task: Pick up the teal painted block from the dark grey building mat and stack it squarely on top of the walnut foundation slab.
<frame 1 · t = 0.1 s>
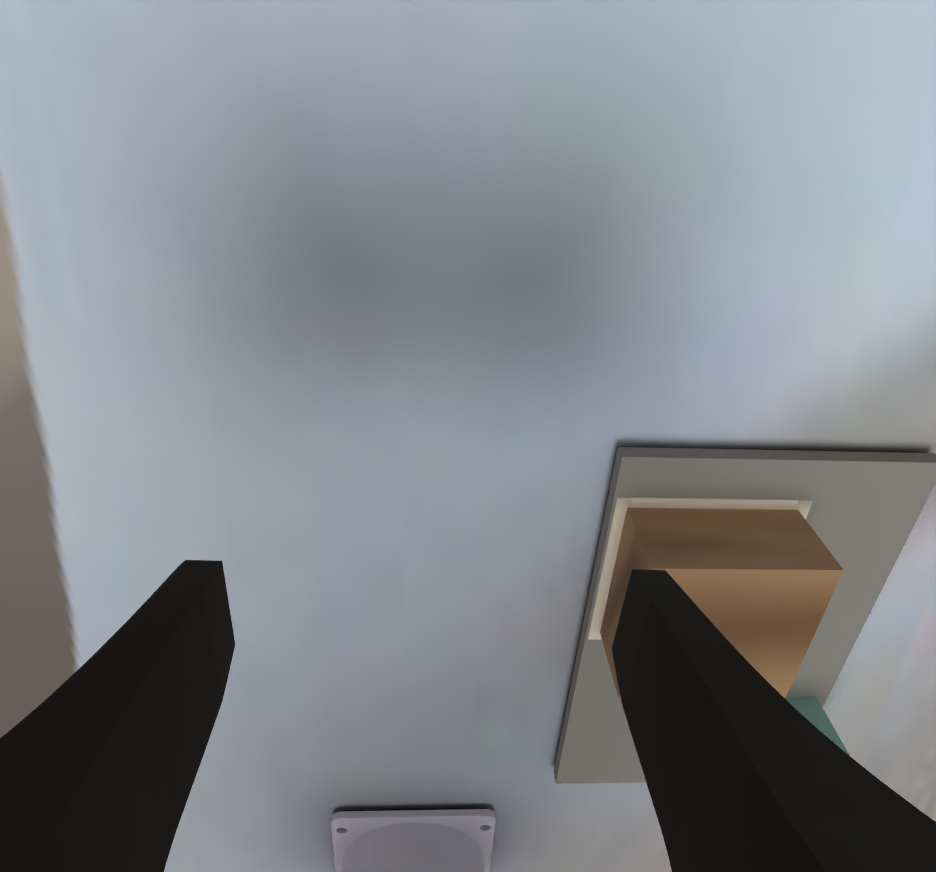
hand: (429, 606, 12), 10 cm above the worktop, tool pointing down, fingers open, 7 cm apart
build mat: (714, 637, 27), on the worktop
walnut slab: (693, 574, 24), point 1 cm above the worktop, touching build mat
teal block: (757, 727, 30), point 1 cm above the worktop, touching build mat
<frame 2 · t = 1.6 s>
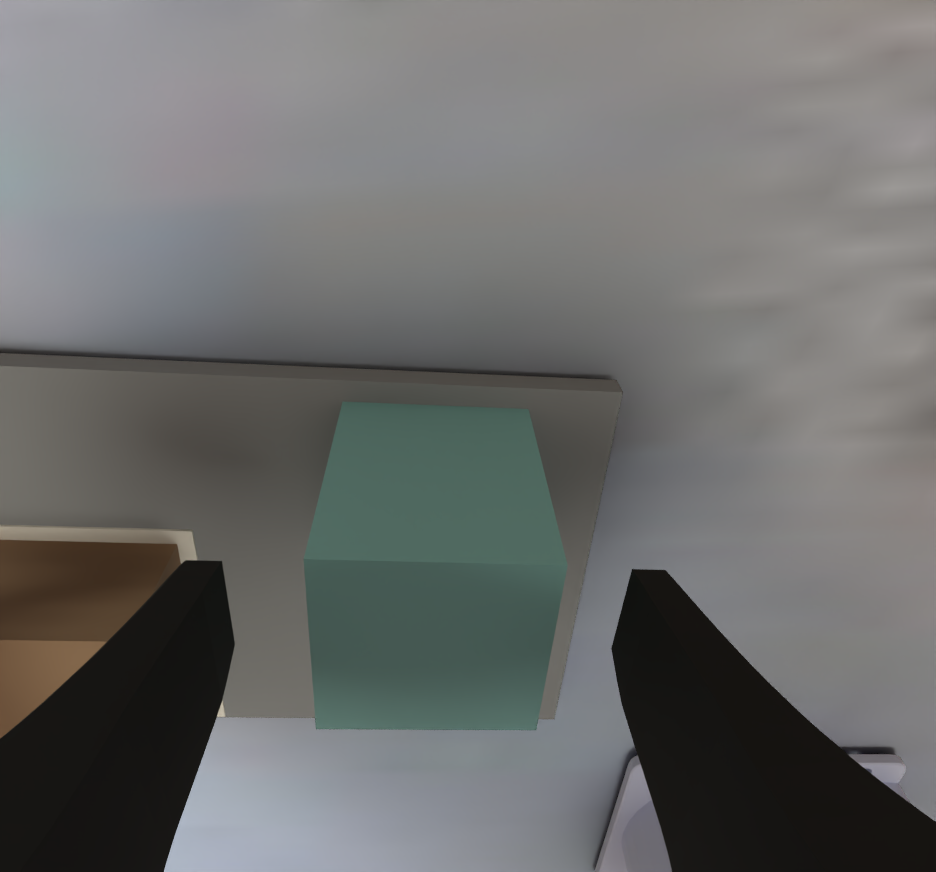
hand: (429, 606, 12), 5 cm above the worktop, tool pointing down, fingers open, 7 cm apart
build mat: (231, 558, 17), on the worktop
walnut slab: (75, 631, 17), point 1 cm above the worktop, touching build mat
teal block: (432, 481, 15), point 1 cm above the worktop, touching build mat
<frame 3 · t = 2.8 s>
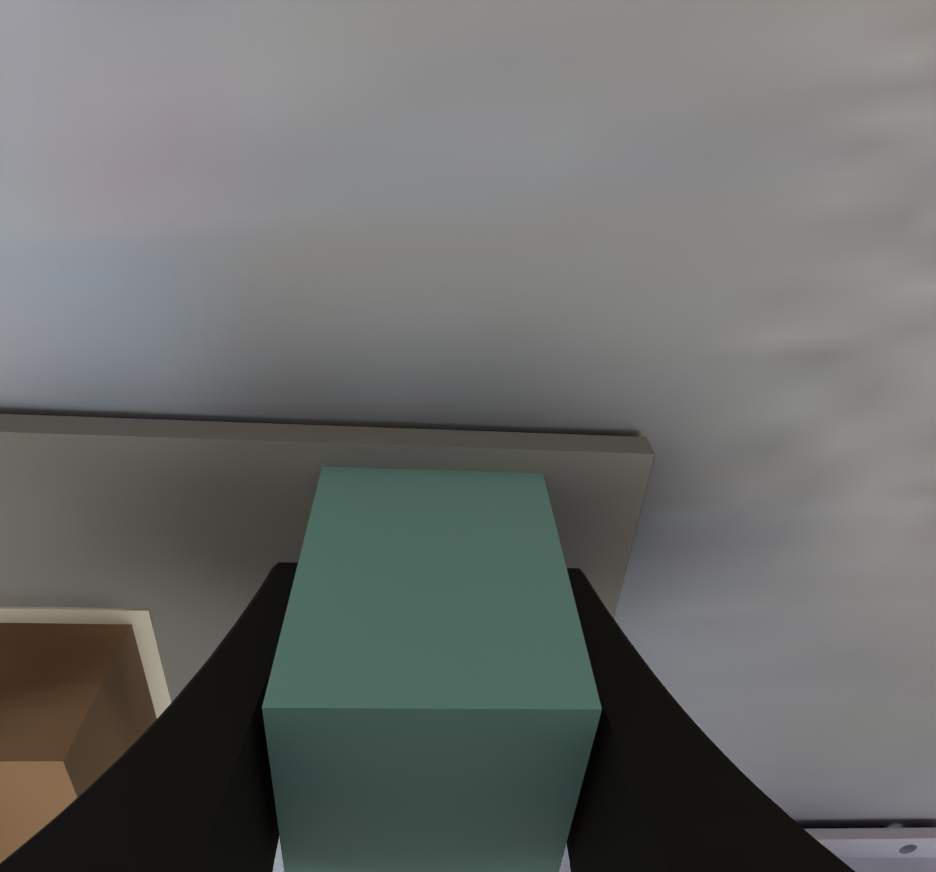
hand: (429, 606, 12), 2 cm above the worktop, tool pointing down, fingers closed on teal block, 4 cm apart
build mat: (198, 634, 15), on the worktop
walnut slab: (18, 717, 15), point 1 cm above the worktop, touching build mat
teal block: (429, 554, 13), point 1 cm above the worktop, touching build mat, gripper
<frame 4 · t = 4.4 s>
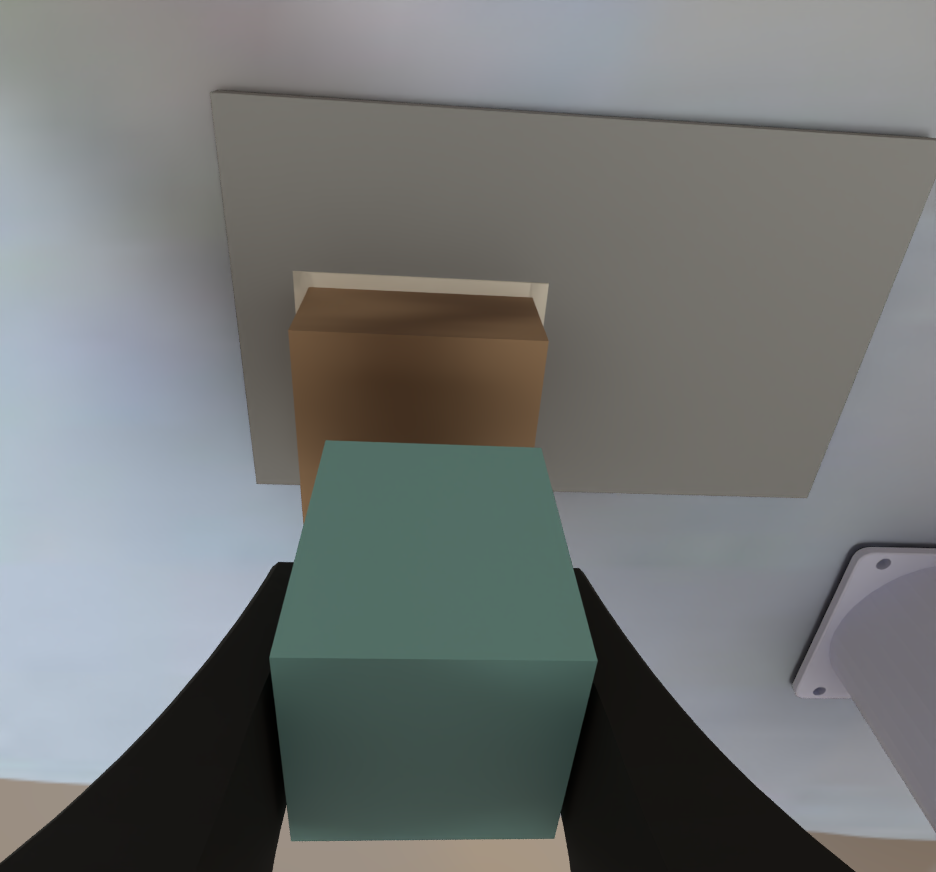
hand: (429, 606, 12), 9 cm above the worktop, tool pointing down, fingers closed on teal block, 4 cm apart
build mat: (559, 324, 19), on the worktop
walnut slab: (419, 391, 20), point 1 cm above the worktop, touching build mat
teal block: (430, 528, 13), point 8 cm above the worktop, touching gripper
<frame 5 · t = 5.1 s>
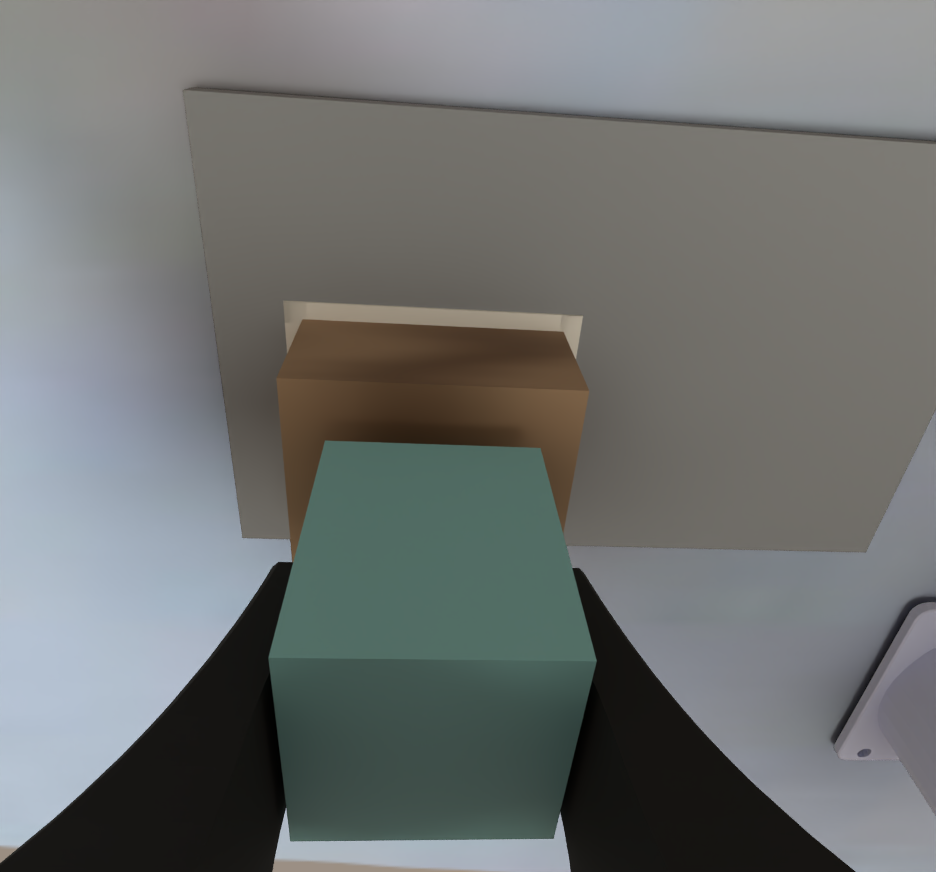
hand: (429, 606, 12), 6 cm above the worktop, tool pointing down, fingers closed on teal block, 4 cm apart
build mat: (592, 360, 17), on the worktop
walnut slab: (429, 436, 17), point 1 cm above the worktop, touching build mat
teal block: (429, 529, 13), point 5 cm above the worktop, touching gripper
when the fingers open (6 cm above the worktop, at t = 5.8 s): teal block stays where it is, resting on walnut slab.
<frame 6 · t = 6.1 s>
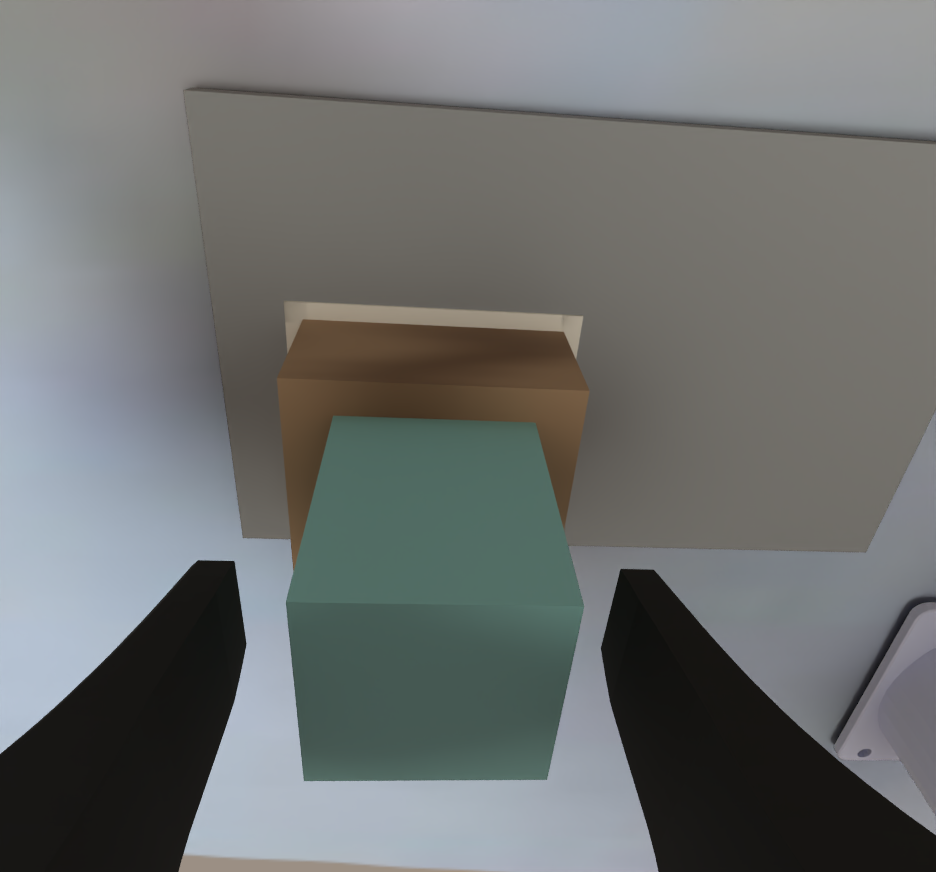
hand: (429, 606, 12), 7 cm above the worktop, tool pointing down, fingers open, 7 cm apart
build mat: (593, 360, 17), on the worktop
walnut slab: (429, 436, 17), point 1 cm above the worktop, touching build mat, teal block
teal block: (431, 500, 14), point 4 cm above the worktop, touching walnut slab
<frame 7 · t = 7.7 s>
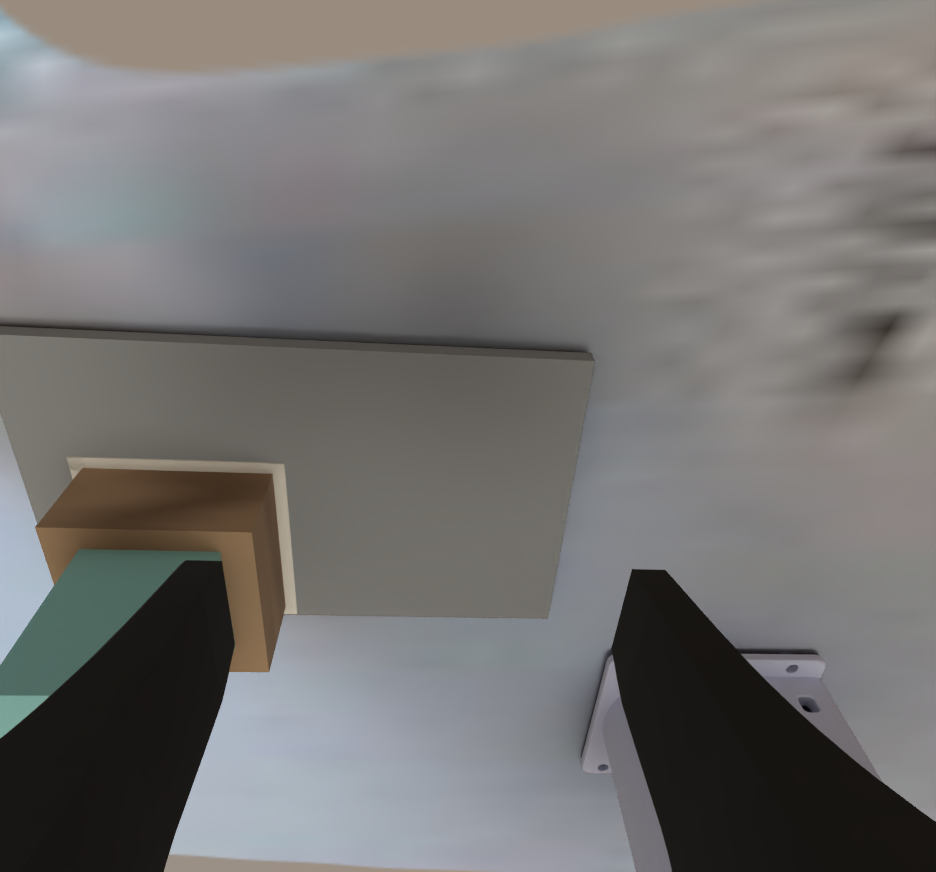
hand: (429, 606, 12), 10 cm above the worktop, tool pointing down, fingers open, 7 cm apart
build mat: (308, 487, 23), on the worktop
walnut slab: (191, 542, 23), point 1 cm above the worktop, touching build mat, teal block
teal block: (161, 600, 21), point 4 cm above the worktop, touching walnut slab
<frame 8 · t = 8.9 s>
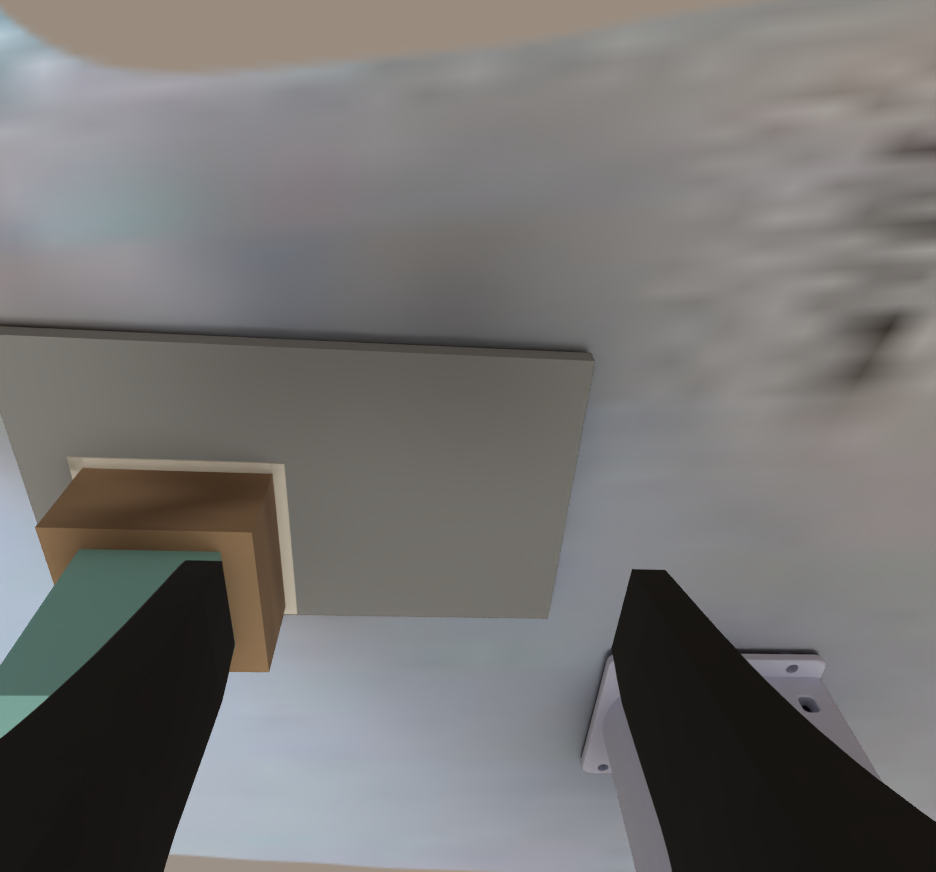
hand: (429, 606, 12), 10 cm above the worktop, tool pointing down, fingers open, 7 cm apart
build mat: (308, 487, 23), on the worktop
walnut slab: (191, 542, 23), point 1 cm above the worktop, touching build mat, teal block
teal block: (161, 600, 21), point 4 cm above the worktop, touching walnut slab
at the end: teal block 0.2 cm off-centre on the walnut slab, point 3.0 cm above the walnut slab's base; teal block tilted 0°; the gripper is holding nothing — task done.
